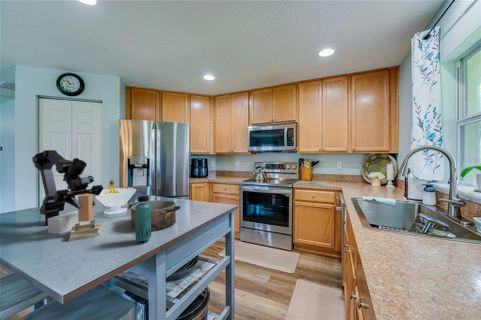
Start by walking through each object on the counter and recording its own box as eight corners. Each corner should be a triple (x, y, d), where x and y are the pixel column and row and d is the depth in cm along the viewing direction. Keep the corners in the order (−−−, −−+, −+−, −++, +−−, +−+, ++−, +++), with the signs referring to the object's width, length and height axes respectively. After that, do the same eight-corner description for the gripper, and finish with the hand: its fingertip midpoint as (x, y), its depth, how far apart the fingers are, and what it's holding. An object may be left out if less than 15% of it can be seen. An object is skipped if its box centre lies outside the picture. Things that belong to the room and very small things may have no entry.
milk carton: (59, 219, 95) (95, 208, 114) (47, 218, 96) (85, 208, 115) (59, 234, 95) (95, 221, 114) (47, 233, 97) (85, 220, 115)
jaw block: (83, 218, 97) (82, 194, 96) (93, 218, 98) (92, 193, 97) (78, 221, 93) (77, 196, 92) (88, 221, 94) (88, 195, 93)
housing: (71, 231, 99) (71, 223, 99) (98, 226, 105) (98, 219, 105) (68, 241, 87) (68, 232, 87) (99, 235, 94) (99, 227, 94)
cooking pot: (115, 228, 103) (115, 207, 103) (147, 215, 125) (147, 198, 124) (163, 235, 94) (163, 213, 94) (189, 220, 115) (189, 202, 115)
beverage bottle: (135, 246, 83) (134, 198, 83) (135, 239, 89) (134, 195, 89) (152, 242, 86) (151, 196, 86) (151, 237, 92) (150, 194, 92)
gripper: (55, 172, 88) (69, 200, 83) (101, 169, 105) (114, 192, 100) (47, 188, 91) (60, 216, 87) (92, 183, 108) (105, 206, 104)
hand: (87, 206), depth 94 cm, fingers closed on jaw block, 6 cm apart
